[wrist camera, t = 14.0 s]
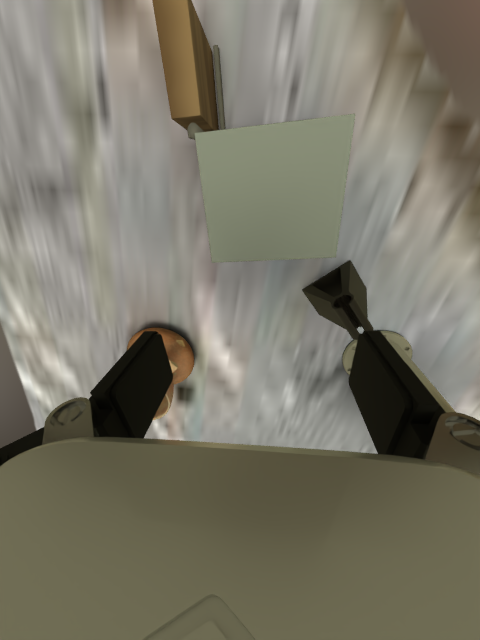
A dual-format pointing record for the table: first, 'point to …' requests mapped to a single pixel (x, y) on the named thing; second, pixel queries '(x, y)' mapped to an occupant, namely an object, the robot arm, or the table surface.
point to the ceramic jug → (172, 362)
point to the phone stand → (341, 299)
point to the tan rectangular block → (186, 64)
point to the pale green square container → (273, 186)
